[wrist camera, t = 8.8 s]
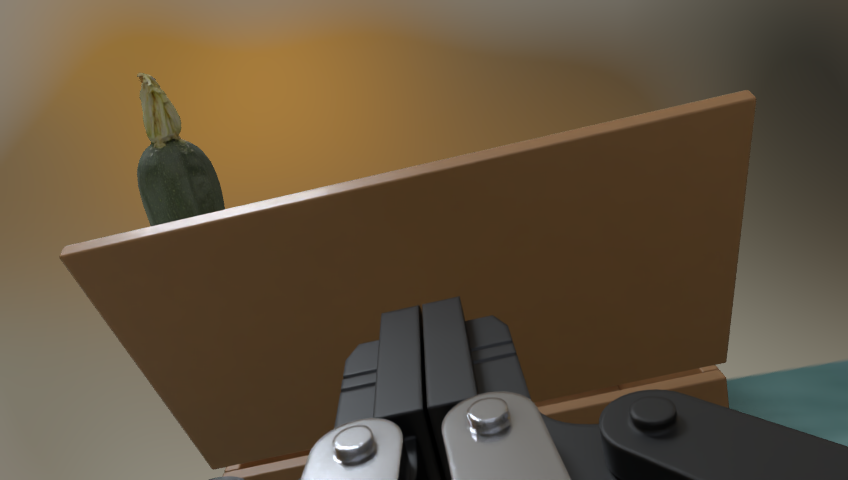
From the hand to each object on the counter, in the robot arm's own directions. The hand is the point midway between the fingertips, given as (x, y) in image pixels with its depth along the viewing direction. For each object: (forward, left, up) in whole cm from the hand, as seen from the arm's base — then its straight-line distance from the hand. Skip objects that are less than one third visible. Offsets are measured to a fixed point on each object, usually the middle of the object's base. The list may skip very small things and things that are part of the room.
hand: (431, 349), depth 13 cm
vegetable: (+14, -27, -14) cm, 34 cm away
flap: (0, -4, -1) cm, 4 cm away
